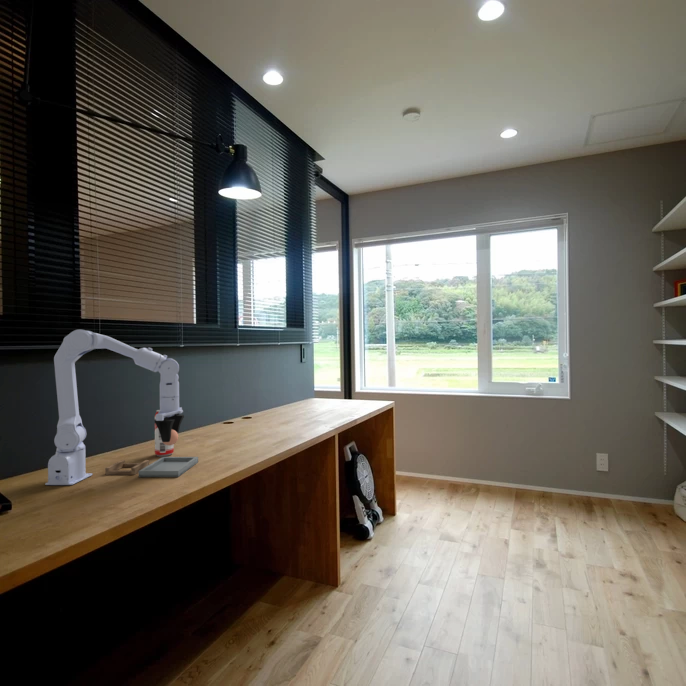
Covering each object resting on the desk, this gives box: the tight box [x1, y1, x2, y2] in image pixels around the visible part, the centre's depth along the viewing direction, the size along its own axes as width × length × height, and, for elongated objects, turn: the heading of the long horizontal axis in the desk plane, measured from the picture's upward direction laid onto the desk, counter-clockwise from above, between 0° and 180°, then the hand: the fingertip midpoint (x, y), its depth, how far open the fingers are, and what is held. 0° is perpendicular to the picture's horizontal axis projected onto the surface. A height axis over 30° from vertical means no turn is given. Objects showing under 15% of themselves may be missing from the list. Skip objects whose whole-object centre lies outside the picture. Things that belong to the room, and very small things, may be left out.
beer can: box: [154, 409, 175, 458], centre depth 152 cm, size 6×6×16 cm
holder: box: [104, 459, 150, 476], centre depth 133 cm, size 9×9×2 cm
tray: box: [138, 456, 199, 478], centre depth 134 cm, size 16×12×2 cm
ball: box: [161, 429, 179, 445], centre depth 134 cm, size 5×5×5 cm
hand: (169, 439), depth 134 cm, fingers closed on ball, 5 cm apart
